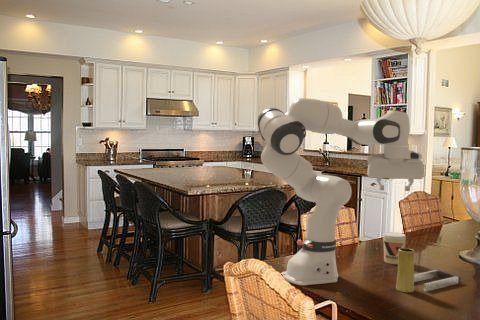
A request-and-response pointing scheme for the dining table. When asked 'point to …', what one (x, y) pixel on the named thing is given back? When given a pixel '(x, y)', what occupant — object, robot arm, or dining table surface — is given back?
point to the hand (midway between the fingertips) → (394, 190)
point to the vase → (405, 270)
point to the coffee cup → (392, 246)
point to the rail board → (446, 280)
